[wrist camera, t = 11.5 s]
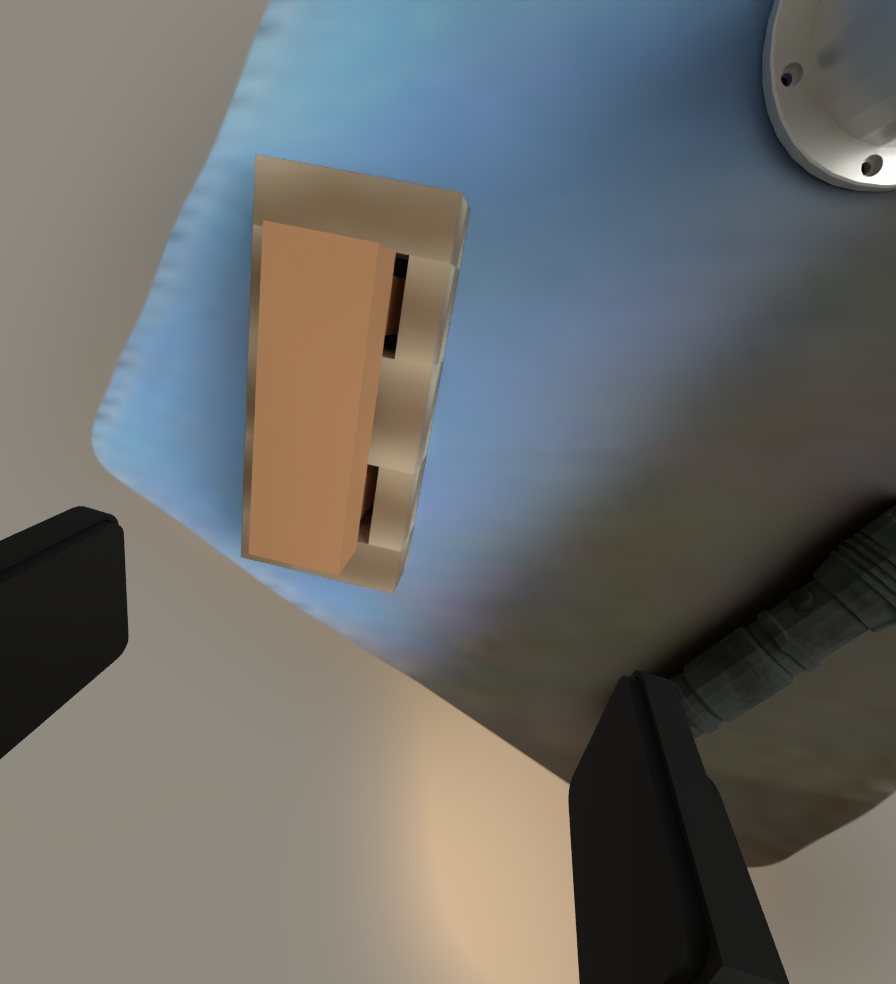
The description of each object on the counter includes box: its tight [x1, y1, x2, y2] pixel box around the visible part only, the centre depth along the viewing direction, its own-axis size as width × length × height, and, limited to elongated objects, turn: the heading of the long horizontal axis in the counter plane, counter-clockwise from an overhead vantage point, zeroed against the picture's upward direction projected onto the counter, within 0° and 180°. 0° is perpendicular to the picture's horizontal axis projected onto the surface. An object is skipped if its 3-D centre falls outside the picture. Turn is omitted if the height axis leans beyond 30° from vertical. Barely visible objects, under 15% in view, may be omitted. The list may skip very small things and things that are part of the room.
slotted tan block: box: [241, 154, 470, 594], centre depth 29 cm, size 22×10×4 cm, turn 169°
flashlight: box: [669, 505, 896, 739], centre depth 30 cm, size 5×21×5 cm, turn 140°
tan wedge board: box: [249, 220, 406, 575], centre depth 27 cm, size 16×5×8 cm, turn 169°
